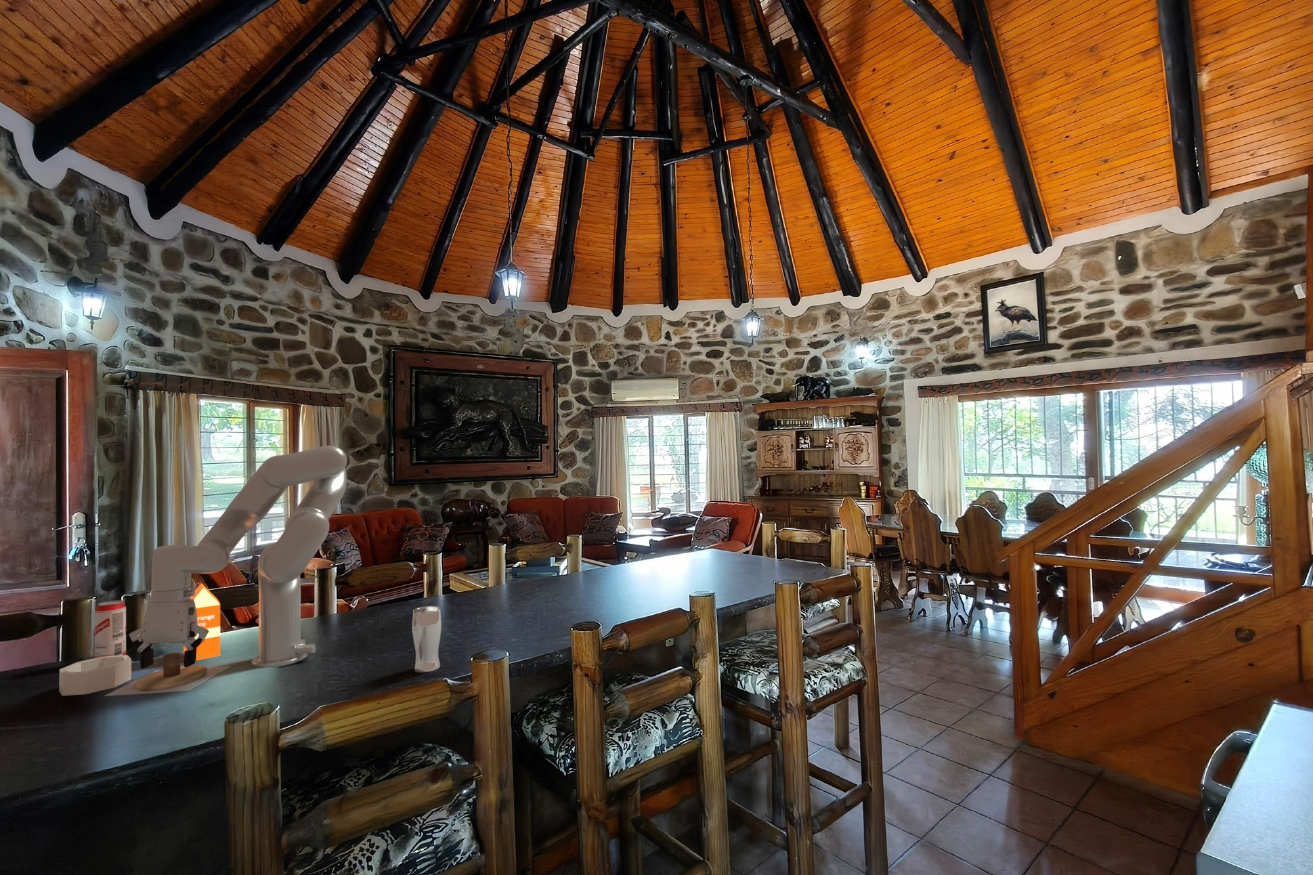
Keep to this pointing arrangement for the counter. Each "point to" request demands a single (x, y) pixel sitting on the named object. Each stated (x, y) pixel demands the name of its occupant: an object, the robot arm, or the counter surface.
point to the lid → (170, 675)
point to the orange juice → (207, 622)
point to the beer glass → (426, 637)
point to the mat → (131, 688)
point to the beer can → (110, 629)
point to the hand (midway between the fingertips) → (168, 666)
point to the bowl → (94, 675)
